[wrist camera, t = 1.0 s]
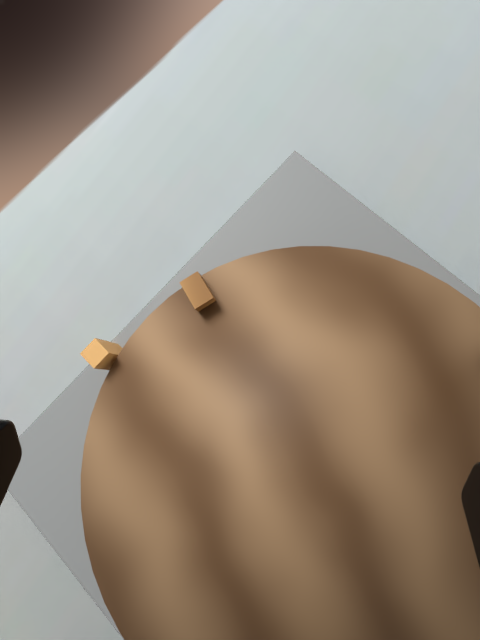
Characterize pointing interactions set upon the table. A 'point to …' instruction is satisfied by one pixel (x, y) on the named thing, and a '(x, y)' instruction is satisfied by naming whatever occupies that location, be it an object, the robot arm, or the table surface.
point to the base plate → (223, 247)
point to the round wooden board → (290, 456)
